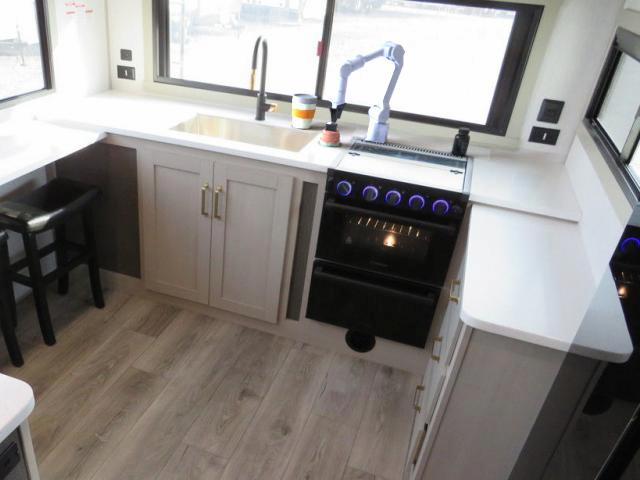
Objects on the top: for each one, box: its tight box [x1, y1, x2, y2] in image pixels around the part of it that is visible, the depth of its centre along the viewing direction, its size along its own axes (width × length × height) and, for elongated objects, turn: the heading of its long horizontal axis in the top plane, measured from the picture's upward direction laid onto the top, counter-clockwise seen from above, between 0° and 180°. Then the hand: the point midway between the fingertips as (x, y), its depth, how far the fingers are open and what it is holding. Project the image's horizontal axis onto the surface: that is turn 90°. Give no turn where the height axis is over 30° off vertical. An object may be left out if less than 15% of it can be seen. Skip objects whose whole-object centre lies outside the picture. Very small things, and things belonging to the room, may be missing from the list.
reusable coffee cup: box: [291, 93, 318, 130], centre depth 291 cm, size 12×13×15 cm
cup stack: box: [319, 127, 341, 148], centre depth 272 cm, size 9×9×6 cm
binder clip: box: [324, 121, 339, 132], centre depth 269 cm, size 5×3×3 cm, turn 68°
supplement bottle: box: [450, 127, 471, 157], centre depth 267 cm, size 7×7×12 cm
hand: (335, 120), depth 270 cm, fingers open, 7 cm apart
